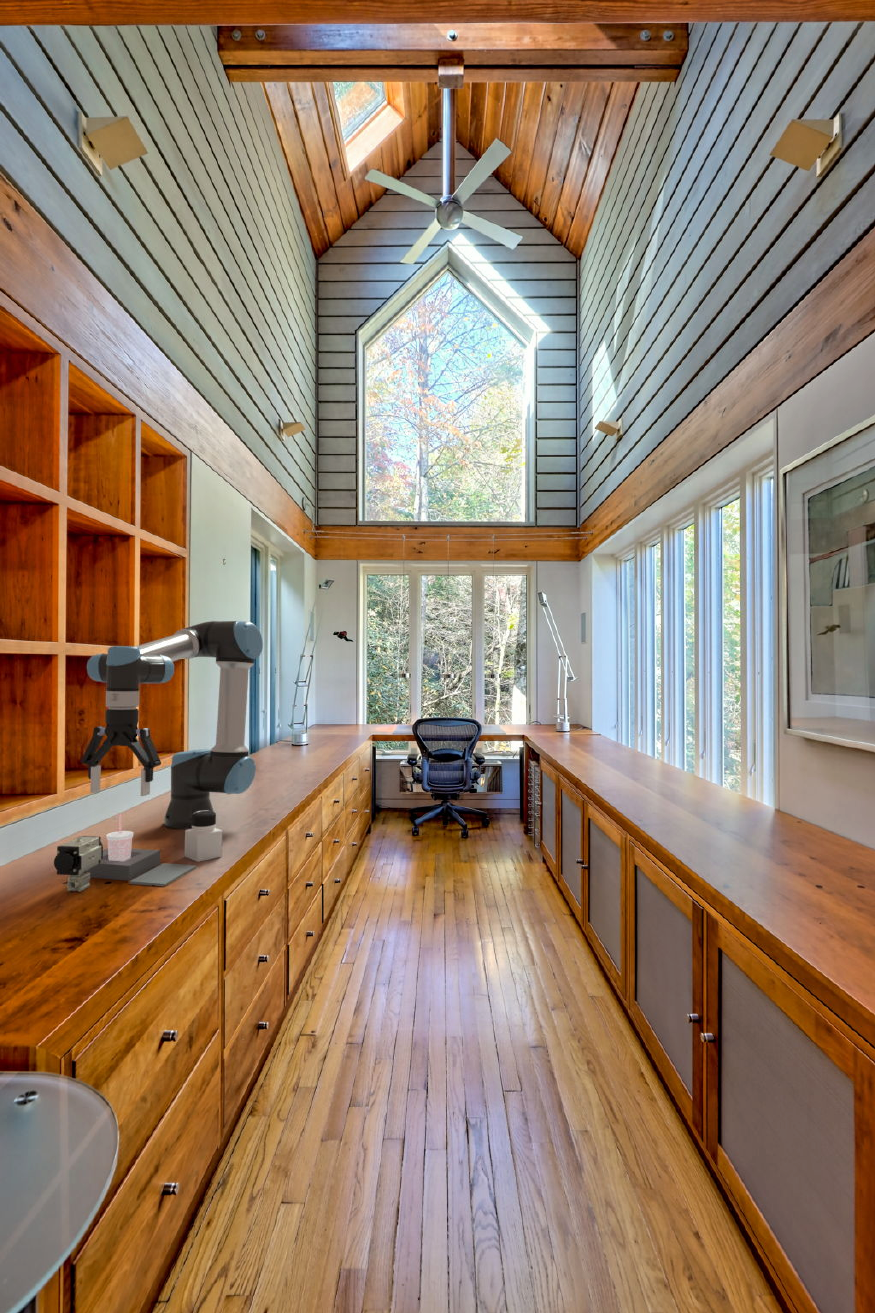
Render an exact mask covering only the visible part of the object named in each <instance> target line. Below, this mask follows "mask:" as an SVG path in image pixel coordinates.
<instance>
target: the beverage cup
mask: <svg viewBox="0 0 875 1313" xmlns="http://www.w3.org/2000/svg"><path fill="white" fill-rule="evenodd" d="M118 816H119V818H118V819H119V820H118V822H119V823H118V831H117V830H116V831H113V832H108V833H107V834H106V835H105V836H106V840H107V848H108V858H109V860H112V861H126V860H128V859H130V858H131V848H133V847H132V846H133V845H132V844H133V837H134V831H131V830H122V813H119V815H118Z"/></svg>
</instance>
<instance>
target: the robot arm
mask: <svg viewBox="0 0 875 1313" xmlns="http://www.w3.org/2000/svg"><path fill="white" fill-rule="evenodd" d="M263 644H264V642H263V637H262V633H261V631H260V630H259V628H258V626H257V625H256V624H254V623H253V622H250V621H242V620H233V621H232V620H229V621H228V620H225V621H223V620H222V621H217V620H216V621H213V620H212V621H205V622H201V623H198V624H194V625H191V626H188V627H185V628H181V629H179V630H176V631H175V632H174V634H173V635H169V636H166V637H164V638H163V637H162V638H159V639H156V640H152V641H149V642H145V643H142V644H139V645H137V646H129V645H128V646H127V645H125V646H123V645H112V646H110V647H108V649H107V652H106V653H103V652H102V653H98V654H97V653H96V654H94V655H91V657H90V658H89V659H88V660H87V664H86V670H87V675H88V676H89V678H90V679H91V680H93V681H94V682H99V683H105V684H106V687H105V689H106V690H105V707H106V709H105V713H104V714H105V715H104V716H105V717H104V721H105V724H106V726H105V727H104V726H103V725H101V726H95V727H93V731H92V737H91V739H90V741H89V743H88V744H87V747H86V748H85V751H84V753H83V755H82V757H81V759H80V763H81V764H83V765H84V764H85V765H87V768H88V769H87V770H88V771H87V772H88V774H87V775H88V776H87V777H88V780H90V786H89V787H90V788H89V789H90V790H89V793H90V794H95V793H99V792H101V777H102V774H101V773H102V772H101V771H102V765H100V762H101V760H103V758H104V757H105V756H106V754H108V752H109V751H110V750H111V748H112V747H113V746H114V747H118V746H120V747H127V748H129V749H130V750H131V751H132V752H133V754H134V756H135V757H136V758H137V759H138V761H139V763H140V764H141V765H142V767H143V768H142V769H140V797H146V796H149V795H151V782H153V781H154V768H156V767H159V766H161V765H162V761H161V759H160V757H159V754H158V752H157V749H156V747H155V744H154V743H153V740H152V738H151V731H150V728H149V727H146V728H138V723H139V720H140V719H139V718H140V717H139V714H140V713H139V709H138V708H137V707H139V706H140V684H157V685H159V684H163V683H168V682H169V681H170V680H171V679H172V678H173V677H174V676H173V675H174V674H175V664H174V662H176V661H179V660H181V659H184V660H191V659H194V658H215V664H217V666H218V667H219V668H220V669H219V670H220V671H219V672H220V673H219V683H218V684H219V685H218V686H219V687H218V689H219V690H218V705H217V718H216V719H217V721H216V735H215V736H216V737H215V745H214V746H212V748H210V749H209V748H203V749H194V750H193V749H191V750H185V751H179V752H176V753H174V754H173V755H172V757H171V765H170V802H169V804H168V807H167V810H166V812H165V815H164V826H165V827H167V828H171V829H193V828H192V815H193V813H195V812H198V811H204V810H208V811H213V812H215V811H214V808H213V805H212V801H211V797H210V796H211V795H210V793H218V794H226V795H239V794H240V795H241V794H243V793H245V792H246V791H248V789H249V788H250V787H251V785H252V783H253V782H254V779H255V778H256V777H255V776H256V770H257V769H256V768H257V767H256V766H257V765H256V763H255V760H254V759H253V758H252V757H251V756H249V754H250V750H249V749H248V747H247V746H246V745H245V738H246V736H245V735H246V723H247V722H246V721H247V703H248V687H249V686H248V685H249V673H250V672H249V670H250V668H252V667H253V666H254V665H255V659H257V658H259V657H260V656H261V653H263V652H262V651H263V647H264V646H263ZM104 736H106V738H105V739H104V741H103V742H102V740H103V737H104ZM137 737H139V739H140V740H138V738H137ZM101 742H102V744H101ZM141 744H142V745H141Z"/></svg>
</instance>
